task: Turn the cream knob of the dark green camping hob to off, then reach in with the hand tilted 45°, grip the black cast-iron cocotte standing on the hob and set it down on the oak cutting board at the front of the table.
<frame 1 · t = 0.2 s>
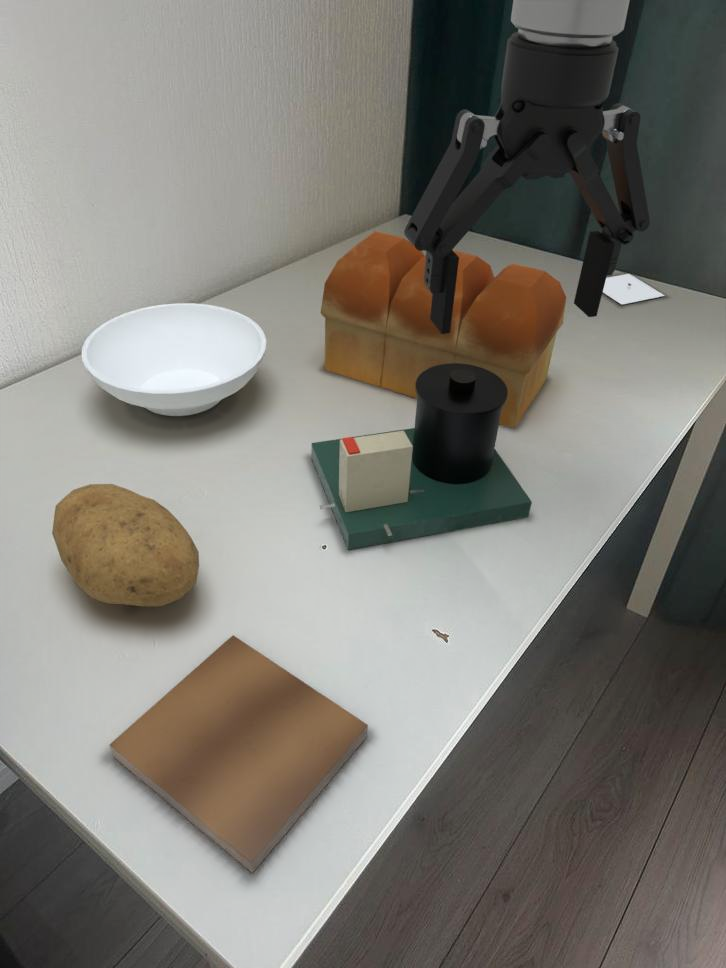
hand: (514, 318, 66), 18 cm above the table, tool pointing down, fingers open, 13 cm apart
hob: (415, 486, 77), on the table
bowl: (182, 398, 88), on the table
cocotte: (451, 458, 77), point 2 cm above the table, touching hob
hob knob: (374, 470, 70), point 5 cm above the table, hinge at 90.0°
potato: (137, 586, 66), on the table
board: (242, 746, 54), on the table
bread: (435, 375, 94), on the table
coaster: (625, 289, 114), on the table
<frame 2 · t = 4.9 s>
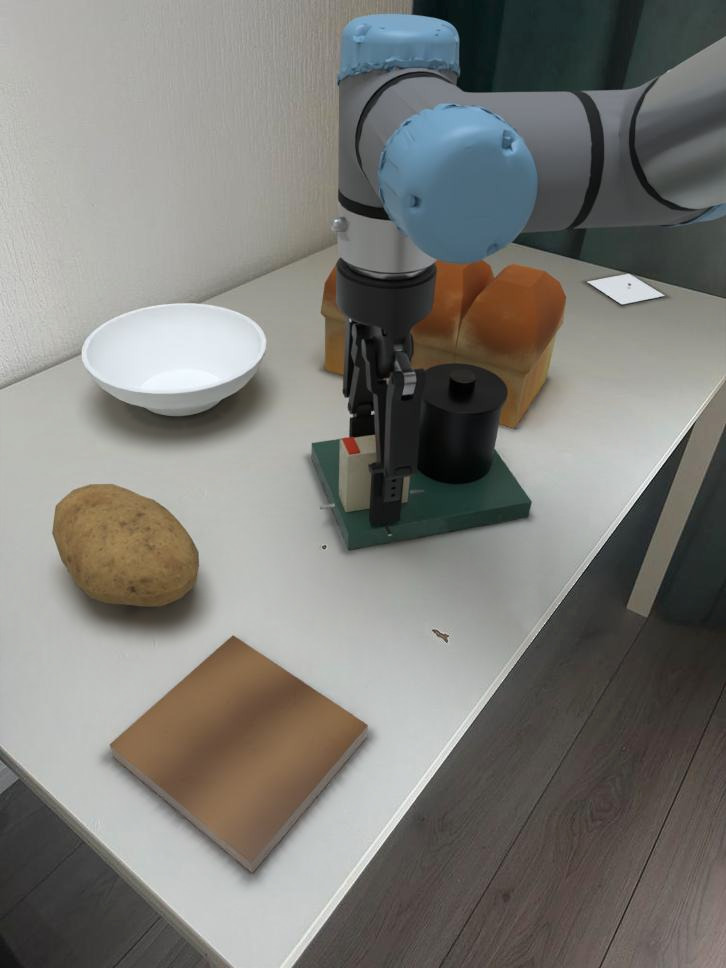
hand: (373, 495, 72), 2 cm above the table, tool pointing down, fingers closed on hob, 6 cm apart
nothing on the table moved.
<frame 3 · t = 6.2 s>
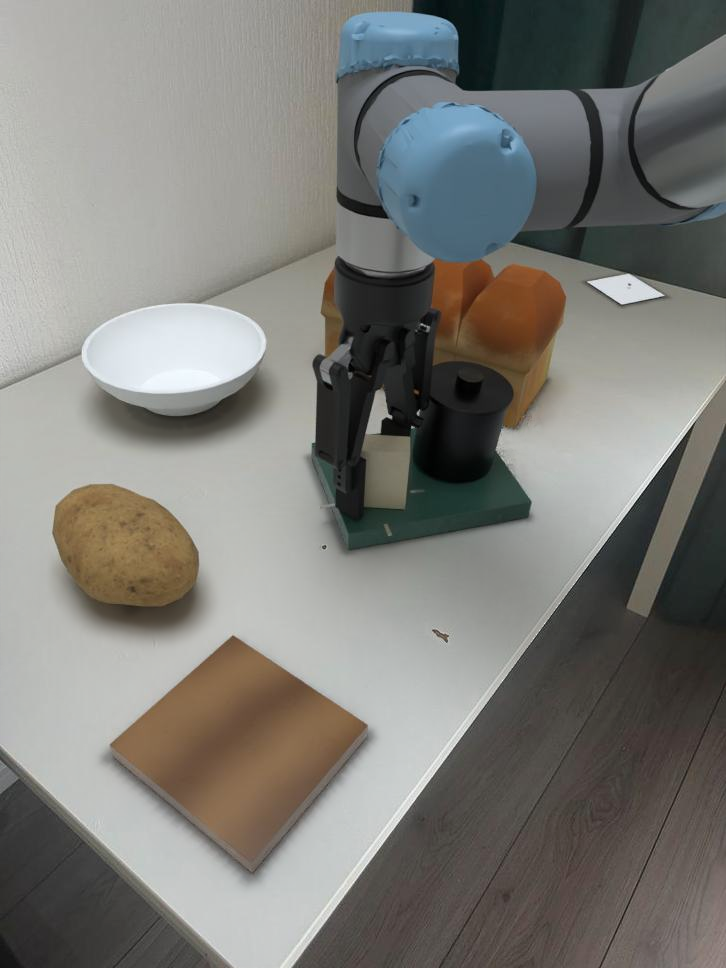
hand: (370, 495, 72), 2 cm above the table, tool pointing down, fingers closed on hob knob, 5 cm apart
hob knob: (374, 470, 70), point 5 cm above the table, hinge at 70.6°, touching gripper
everything else where it was.
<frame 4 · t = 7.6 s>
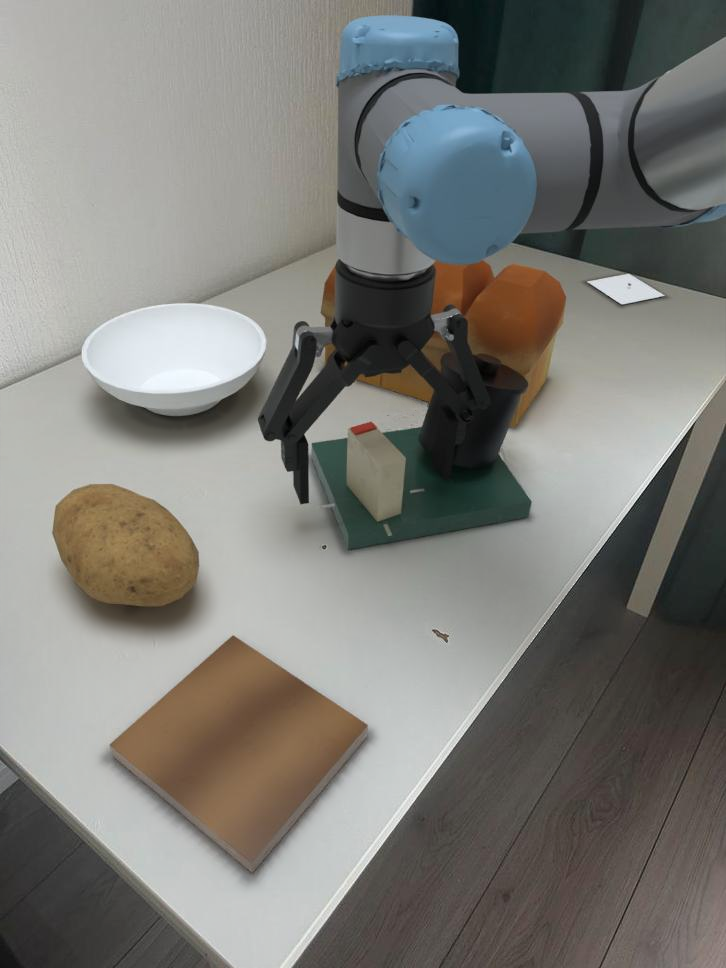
hand: (372, 482, 71), 4 cm above the table, tool pointing down, fingers open, 13 cm apart
cocotte: (456, 448, 77), point 3 cm above the table, tilted 17°, touching gripper
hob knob: (374, 470, 70), point 5 cm above the table, hinge at 12.6°
everything else where it was.
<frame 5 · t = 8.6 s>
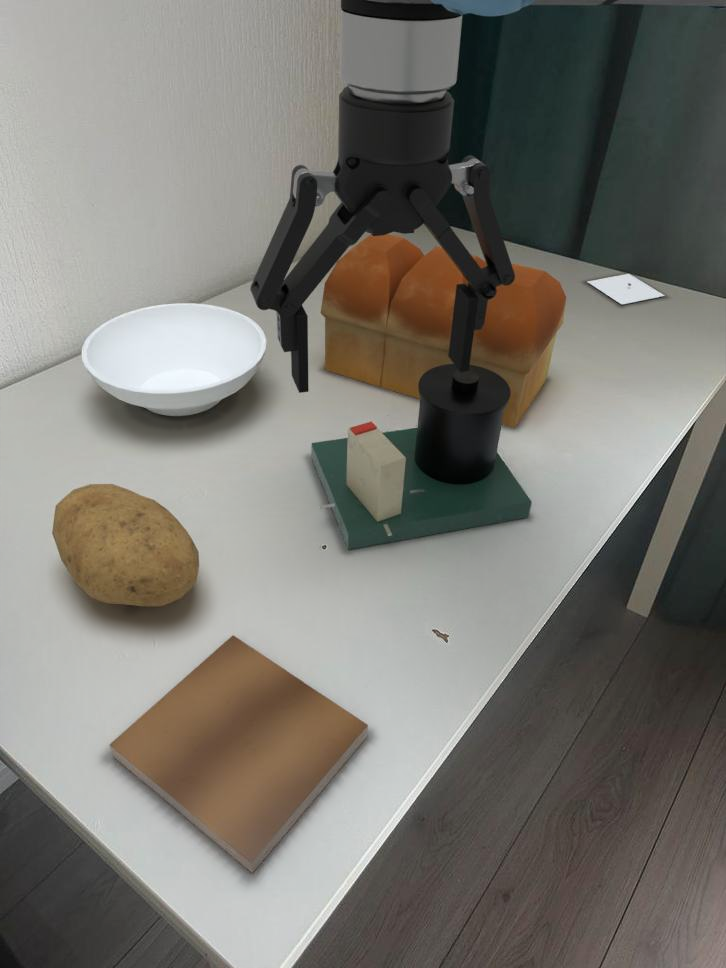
hand: (381, 373, 63), 16 cm above the table, tool pointing down, fingers open, 13 cm apart
cocotte: (454, 459, 77), point 2 cm above the table, touching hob
everything else where it was.
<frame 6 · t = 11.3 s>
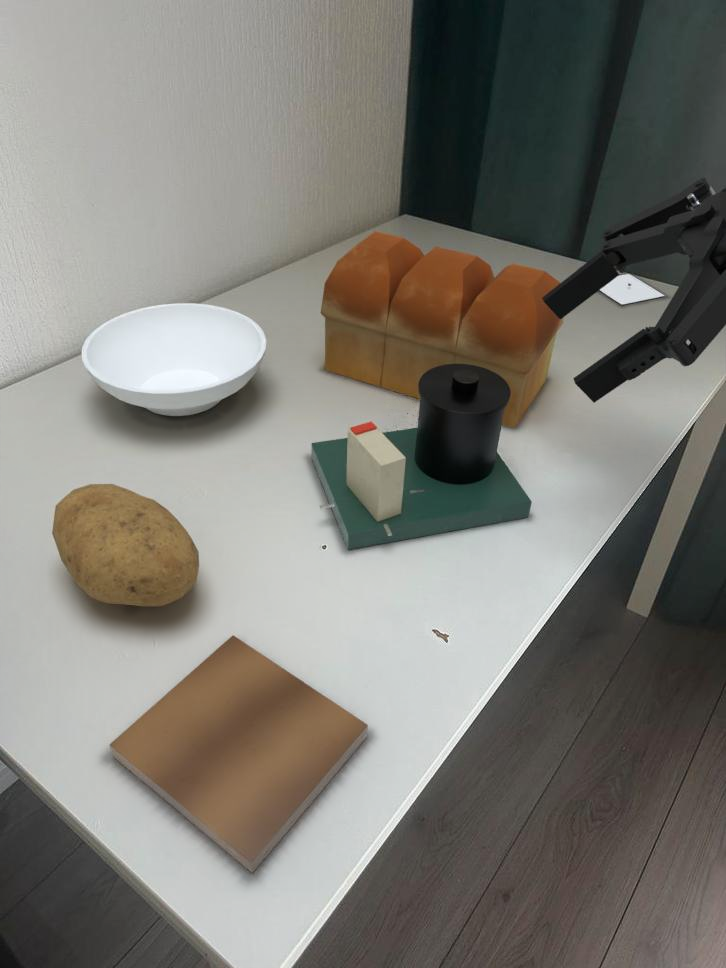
hand: (565, 347, 68), 16 cm above the table, tool tilted 45°, fingers open, 13 cm apart
nothing on the table moved.
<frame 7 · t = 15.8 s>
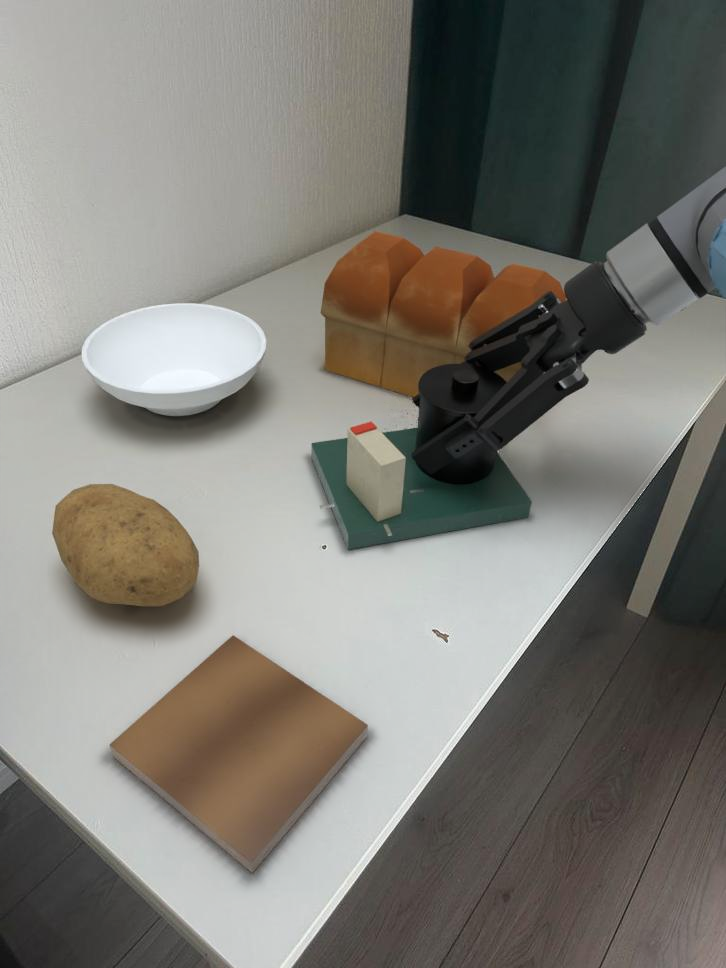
hand: (421, 434, 76), 5 cm above the table, tool tilted 45°, fingers closed on cocotte, 9 cm apart
cocotte: (454, 459, 77), point 2 cm above the table, touching gripper, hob
everything else where it was.
when the fingers open (4 cm above the table, at t = 26.8 s): cocotte stays where it is, resting on board.
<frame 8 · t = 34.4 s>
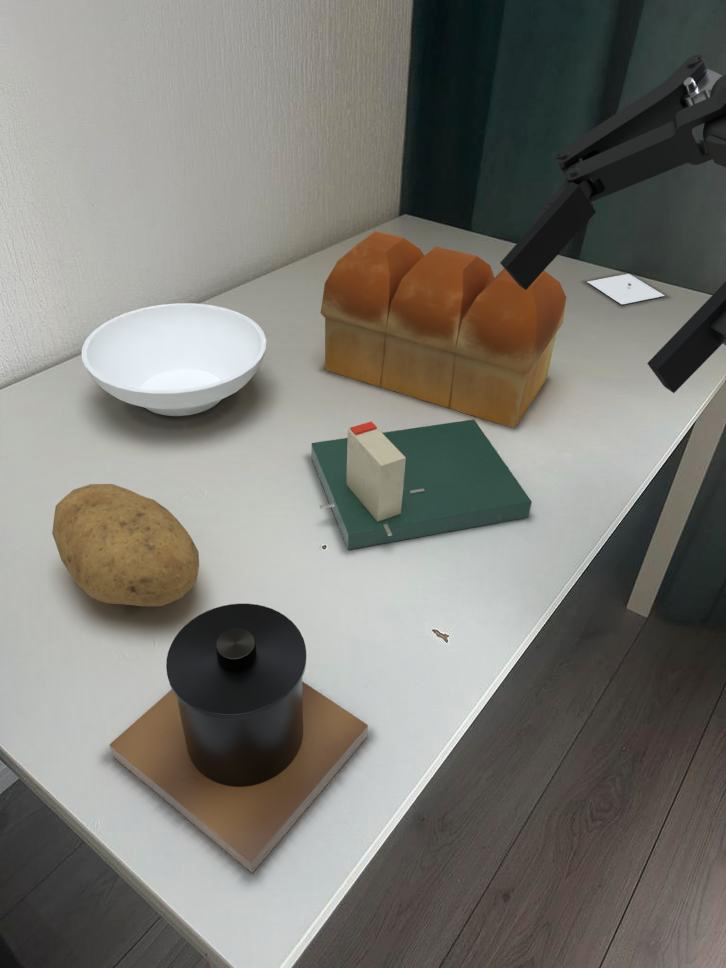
hand: (578, 323, 46), 28 cm above the table, tool tilted 45°, fingers open, 13 cm apart
cocotte: (245, 732, 53), point 1 cm above the table, touching board
everything else where it was.
at the end: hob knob at +13° (first picture: +90°); cocotte inside the target area on the board (0.3 cm from its centre), point 1.5 cm above the board's base; cocotte tilted 0° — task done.
